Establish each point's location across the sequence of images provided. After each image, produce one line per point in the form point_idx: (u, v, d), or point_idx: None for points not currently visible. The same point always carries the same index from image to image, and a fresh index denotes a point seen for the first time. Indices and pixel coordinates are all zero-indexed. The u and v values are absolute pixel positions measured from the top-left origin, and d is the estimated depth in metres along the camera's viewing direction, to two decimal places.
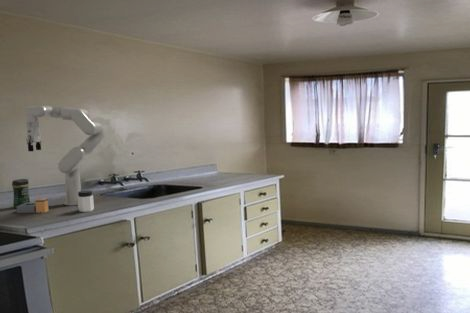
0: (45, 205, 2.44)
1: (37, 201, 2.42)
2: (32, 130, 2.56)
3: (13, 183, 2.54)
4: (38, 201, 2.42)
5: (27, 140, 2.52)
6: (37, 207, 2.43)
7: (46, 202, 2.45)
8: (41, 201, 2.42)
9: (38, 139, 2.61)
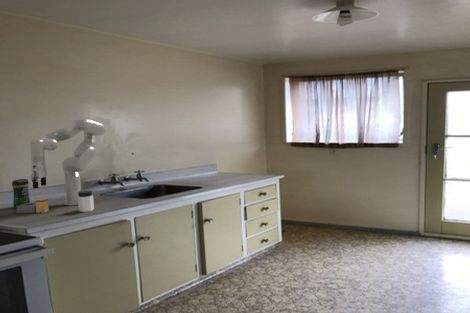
0: (45, 205, 2.44)
1: (37, 201, 2.42)
2: (37, 165, 2.37)
3: (13, 183, 2.54)
4: (38, 201, 2.42)
5: (32, 177, 2.34)
6: (37, 207, 2.43)
7: (46, 202, 2.45)
8: (41, 201, 2.42)
9: (43, 174, 2.43)
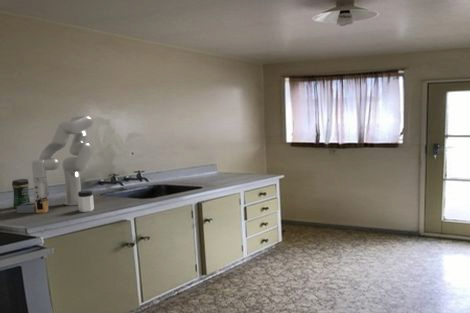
0: (45, 205, 2.44)
1: None
2: (39, 186, 2.39)
3: (13, 183, 2.54)
4: None
5: (36, 200, 2.38)
6: None
7: (46, 202, 2.45)
8: None
9: (45, 194, 2.44)
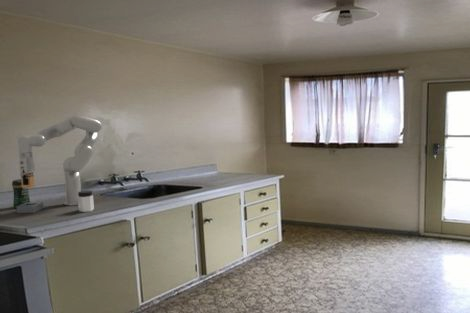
0: (31, 181, 2.46)
1: None
2: (25, 161, 2.41)
3: (13, 183, 2.54)
4: None
5: (21, 175, 2.40)
6: None
7: (32, 178, 2.47)
8: None
9: (31, 170, 2.46)
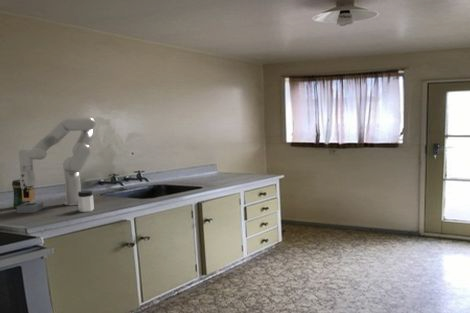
0: (31, 194, 2.46)
1: None
2: (26, 174, 2.42)
3: (13, 183, 2.54)
4: None
5: (22, 188, 2.41)
6: None
7: (32, 191, 2.48)
8: None
9: (32, 183, 2.47)
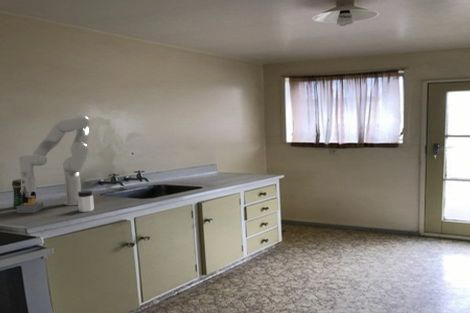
0: (33, 203, 2.47)
1: None
2: (26, 181, 2.42)
3: (13, 183, 2.54)
4: None
5: (21, 192, 2.39)
6: (25, 204, 2.46)
7: (34, 199, 2.49)
8: (29, 198, 2.46)
9: (33, 189, 2.48)
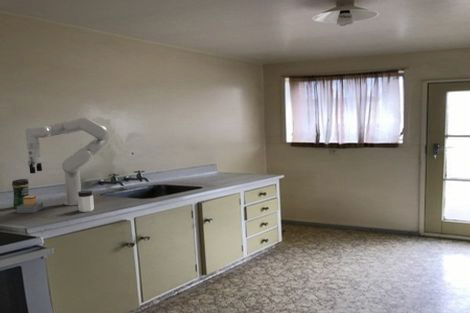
0: (33, 203, 2.47)
1: (25, 198, 2.46)
2: (33, 152, 2.51)
3: (13, 183, 2.54)
4: (26, 198, 2.46)
5: (29, 162, 2.48)
6: (25, 204, 2.46)
7: (34, 199, 2.49)
8: (29, 198, 2.46)
9: (39, 160, 2.57)
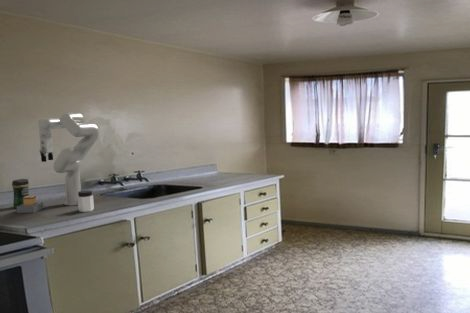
0: (33, 203, 2.47)
1: (25, 198, 2.46)
2: (45, 141, 2.69)
3: (13, 183, 2.54)
4: (26, 198, 2.46)
5: (40, 151, 2.65)
6: (25, 204, 2.46)
7: (34, 199, 2.49)
8: (29, 198, 2.46)
9: (50, 150, 2.74)
